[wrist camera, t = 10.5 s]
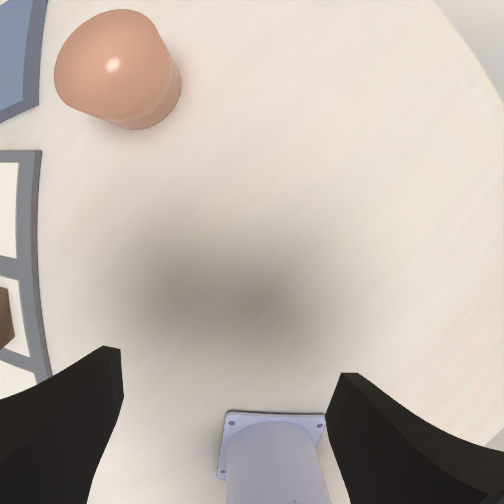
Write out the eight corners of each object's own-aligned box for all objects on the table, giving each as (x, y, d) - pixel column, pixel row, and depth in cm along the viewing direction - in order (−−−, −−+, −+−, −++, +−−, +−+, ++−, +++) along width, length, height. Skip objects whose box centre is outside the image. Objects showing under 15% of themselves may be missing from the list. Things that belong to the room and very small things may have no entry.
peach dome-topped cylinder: (173, 132, 16) (145, 112, 11) (96, 128, 16) (43, 113, 10) (188, 54, 15) (171, 7, 9) (112, 53, 15) (71, 15, 9)
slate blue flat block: (41, 105, 15) (22, 100, 13) (-22, 136, 15) (-41, 135, 13) (50, -4, 13) (36, -16, 11) (-12, 32, 13) (-28, 24, 10)
